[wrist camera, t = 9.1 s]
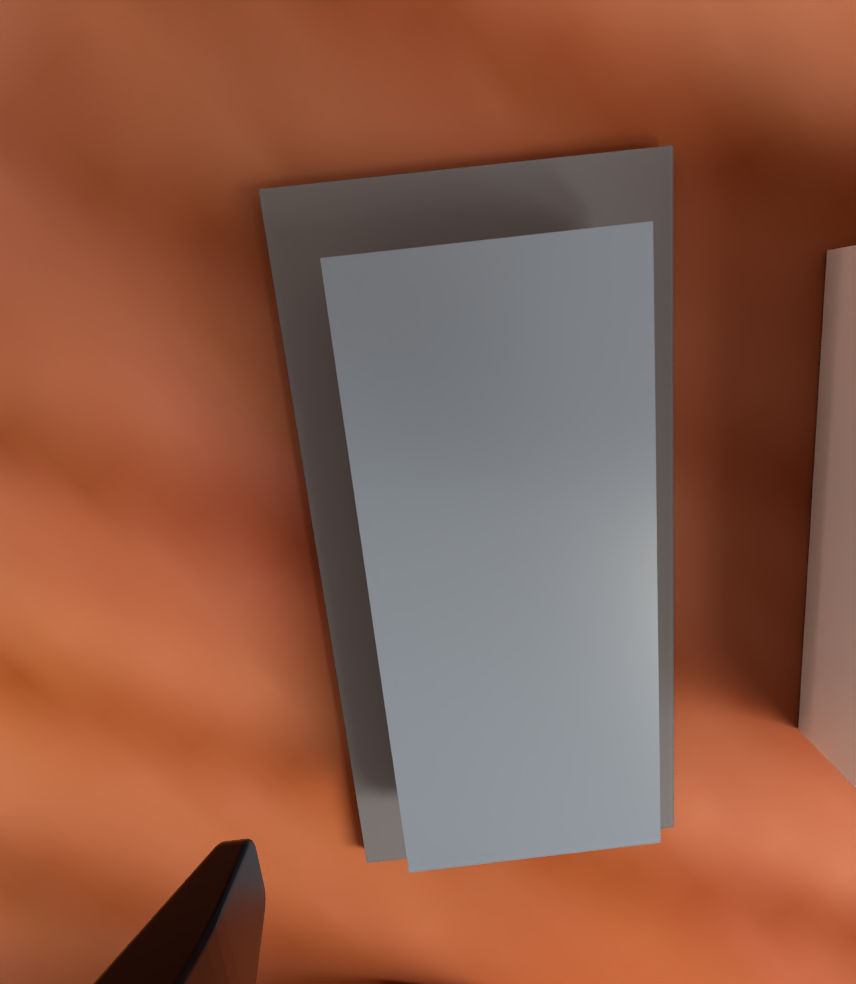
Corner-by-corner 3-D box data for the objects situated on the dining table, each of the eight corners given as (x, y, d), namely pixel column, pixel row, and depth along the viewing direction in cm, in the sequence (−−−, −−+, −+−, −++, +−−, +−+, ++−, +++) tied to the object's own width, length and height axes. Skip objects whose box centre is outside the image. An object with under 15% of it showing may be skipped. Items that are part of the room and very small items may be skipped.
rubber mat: (664, 150, 15) (673, 145, 15) (667, 815, 21) (673, 827, 20) (262, 193, 15) (258, 189, 15) (367, 850, 20) (366, 862, 20)
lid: (613, 237, 15) (652, 220, 13) (628, 778, 20) (660, 842, 17) (332, 268, 15) (320, 258, 13) (408, 805, 19) (409, 872, 17)
